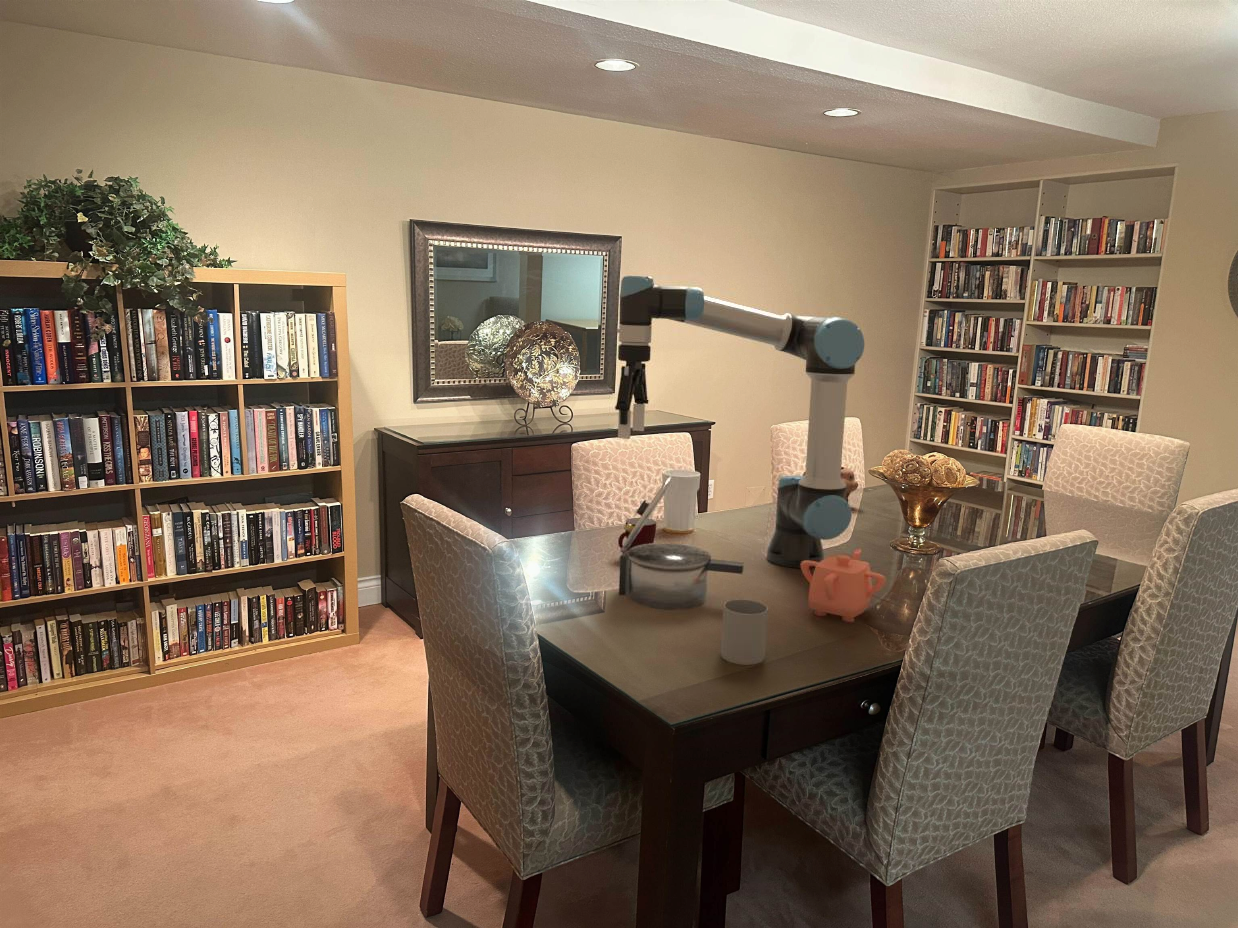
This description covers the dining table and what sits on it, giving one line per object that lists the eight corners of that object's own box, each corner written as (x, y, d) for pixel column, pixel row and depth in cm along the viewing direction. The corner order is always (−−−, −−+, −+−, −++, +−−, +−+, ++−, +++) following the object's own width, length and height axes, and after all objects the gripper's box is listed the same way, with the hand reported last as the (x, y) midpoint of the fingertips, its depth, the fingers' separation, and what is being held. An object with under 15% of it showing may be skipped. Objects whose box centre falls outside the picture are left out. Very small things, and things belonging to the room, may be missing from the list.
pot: (744, 590, 208) (746, 550, 206) (736, 618, 190) (739, 573, 188) (629, 578, 214) (631, 539, 212) (611, 604, 196) (613, 561, 194)
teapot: (824, 627, 186) (829, 568, 184) (790, 602, 201) (794, 547, 199) (893, 622, 191) (898, 564, 188) (855, 598, 206) (860, 544, 203)
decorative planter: (793, 504, 301) (796, 465, 299) (805, 498, 312) (808, 460, 309) (850, 513, 291) (854, 472, 289) (861, 507, 301) (865, 467, 299)
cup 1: (704, 529, 264) (707, 472, 261) (686, 536, 255) (689, 478, 252) (671, 522, 270) (673, 467, 267) (652, 530, 261) (655, 473, 258)
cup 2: (717, 647, 173) (720, 599, 172) (758, 647, 174) (761, 599, 172) (726, 664, 165) (729, 614, 163) (768, 664, 166) (772, 614, 164)
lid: (679, 472, 207) (668, 464, 207) (666, 487, 188) (654, 479, 189) (635, 539, 212) (624, 532, 212) (617, 561, 194) (605, 553, 194)
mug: (629, 565, 225) (631, 528, 223) (610, 557, 231) (612, 521, 229) (661, 559, 231) (662, 522, 230) (641, 552, 238) (643, 516, 236)
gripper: (632, 341, 216) (629, 426, 220) (604, 345, 192) (601, 440, 196) (661, 342, 214) (658, 428, 218) (637, 346, 190) (633, 443, 194)
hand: (631, 434), depth 207 cm, fingers open, 13 cm apart
